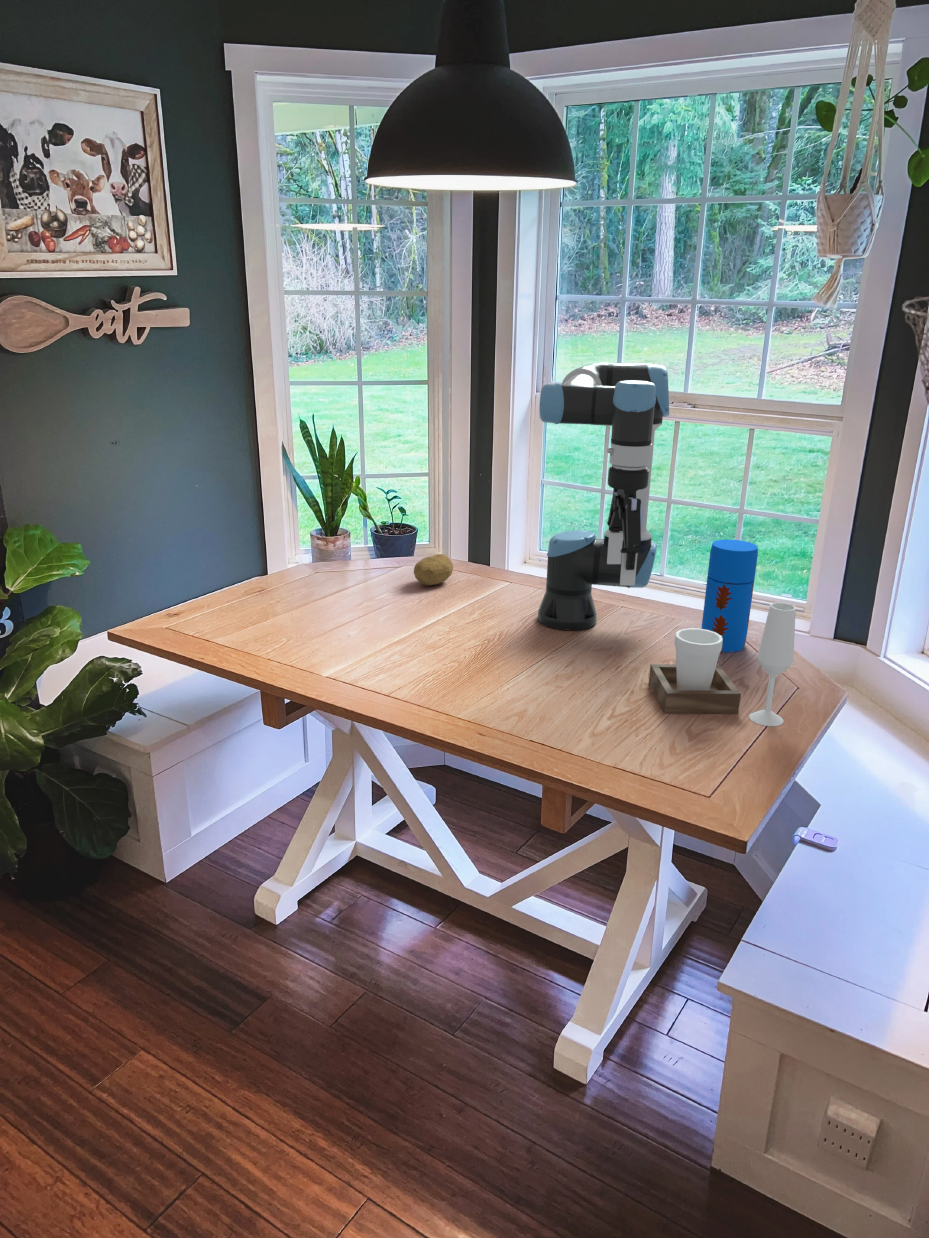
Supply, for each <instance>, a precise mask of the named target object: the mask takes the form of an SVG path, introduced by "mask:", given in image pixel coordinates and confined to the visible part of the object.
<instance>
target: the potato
mask: <svg viewBox="0 0 929 1238" xmlns="http://www.w3.org/2000/svg"><path fill="white" fill-rule="evenodd" d="M453 570H454V564H453V562H452V560H451V559H450V558H449V556H447V555H445V554H442V553H441V554H438V553H437V554H435V555H430V556H426V557H423V558H421V559H420V560H419V561H418V562H417V563H415V565H414V568H413V574H414V577H415V579H416V580H417V581H418V582H419V583H421V584H423V585H425V586H427V587H430V586H436V585H439V584H441V583H443V582H445V581H447V580H448V579H449V578H450V577H451V576H452V574H453Z"/></svg>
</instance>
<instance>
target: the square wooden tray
mask: <svg viewBox="0 0 929 1238" xmlns="http://www.w3.org/2000/svg"><path fill="white" fill-rule="evenodd" d="M649 667H650V668H649V675H648V676H649V677H648V684H649V685H648V686H649V687H650V688H651V690H652V693H654V696H655V697H656V700H657V701H658V704H659V705H660V706H661V709H662V710H663V712H664V714H665V715H668V714H672V715H675V714H677V715H680V714H681V715H682V714H685V715H686V714H687V715H688V714H689V715H691V714H692V715H701V714H702V715H704V714H705V715H709V714H710V715H713V714H714V715H722V714H723V715H731V714H732V715H734V714H735V715H736V714H737V715H738V714H739V712H740V704H741V695H742V694H741V692H740V690H739V689H738V688H737V686H736V685H735V684H734V683H733V681H732V680H731V679H730V677H729V676H728V675H727V673H726V672H725V671H724V669H723V668H722V667H721V666H720V664H717V665H716V668H715V672H714V676H713V679H712V683H711V687H710V690H709V691H707V690H677V671H676V663H674V664H672V663H671V664H666V663H665V664H664V663H662V664H659V663H657V664H656V663H655V664H654V663H653V664H652V663H651V664H650V666H649Z"/></svg>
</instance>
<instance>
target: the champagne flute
mask: <svg viewBox="0 0 929 1238" xmlns="http://www.w3.org/2000/svg"><path fill="white" fill-rule="evenodd" d="M796 613H797V607H796V606H795V605H793V604H791V603H787V602H779V601H778V602H777V601H776V602H772V603H769V607H768V613H767V616H766V619H765V624H764V628H763V633H762V637H761V640H760V644H759V649H758V652H757V655H756V656H757V661H758V664H759V666H760V667H761V668H762V669H763V671H765V672H766V673H767V674H768V675H769V678H768V683H767V690H766V697H765V704H764V709H761V710H757V711H754V712H751V713H750V714H749V716H748V718H749V719H750V721H752V722H754V723H755V724H756V725H757V724H758V725H761V726H765V727H779V726H781V725H783V724H784V719H783V718H782V717H781V716H780V715H778V714H777V713H775V712H774V711H772V710H771V709H772V704H773V696H774V691H775V690H774V689H775V684H776V676H780V675H781V674H782V673H784V672H786V671H787V670H789V668H791V666H792V665H793V663H794V652H795V649H794V648H795V634H796V633H795V631H796Z"/></svg>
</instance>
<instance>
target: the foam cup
mask: <svg viewBox="0 0 929 1238" xmlns="http://www.w3.org/2000/svg"><path fill="white" fill-rule="evenodd" d="M722 642H723V639H722V636H721V635H719V634H717V633H716V632H713V631H709V630H705V629H701V628H697V627H695V628H693V627H692V628H691V627H690V628H688V627H687V628H683V629H679V630H678V631H677V632H675V638H674V647H675V660H676V661H675V662H676V663H675V664H676V671H677V690H707V691H709V690H710V687H711V683H712V679H713V676H714V672H715V668H716V665H718V660H719V658H720V654H721V652H720V651H721V650H722Z"/></svg>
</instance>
